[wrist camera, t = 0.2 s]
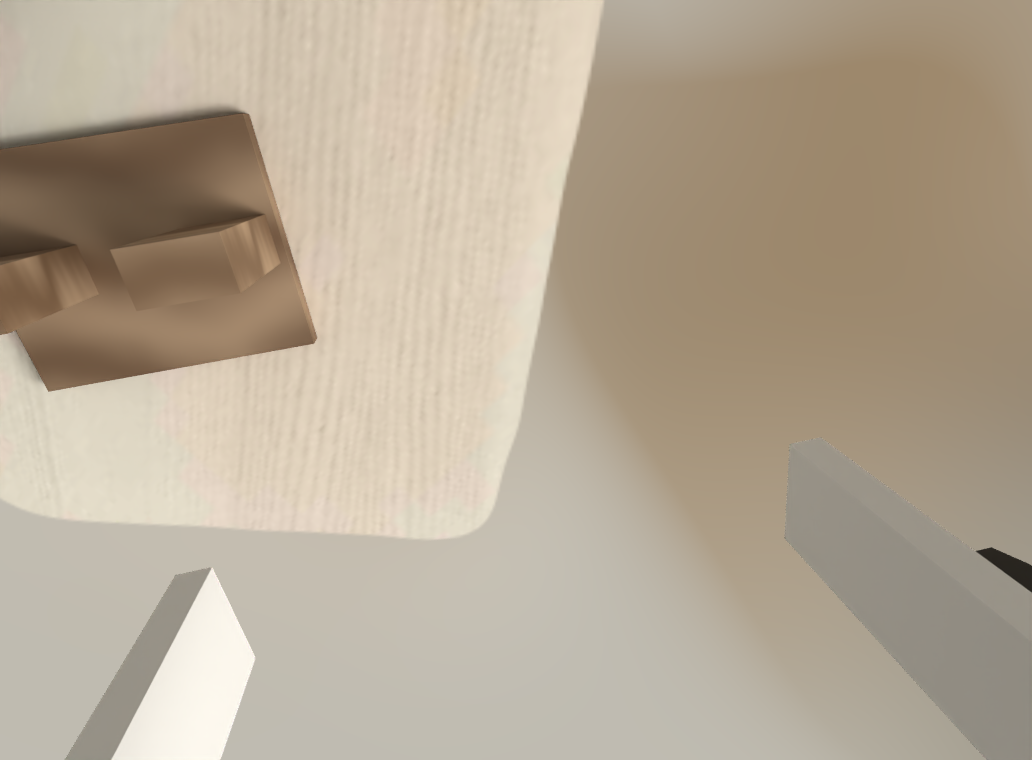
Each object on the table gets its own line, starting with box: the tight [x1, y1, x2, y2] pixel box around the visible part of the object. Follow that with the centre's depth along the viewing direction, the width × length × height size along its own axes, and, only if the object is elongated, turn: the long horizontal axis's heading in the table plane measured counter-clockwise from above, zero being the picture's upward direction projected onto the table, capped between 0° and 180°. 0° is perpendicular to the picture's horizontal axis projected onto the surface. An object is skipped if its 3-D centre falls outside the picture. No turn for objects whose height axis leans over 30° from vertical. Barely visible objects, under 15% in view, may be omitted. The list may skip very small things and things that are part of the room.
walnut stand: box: [0, 113, 317, 392], centre depth 30 cm, size 14×17×9 cm
